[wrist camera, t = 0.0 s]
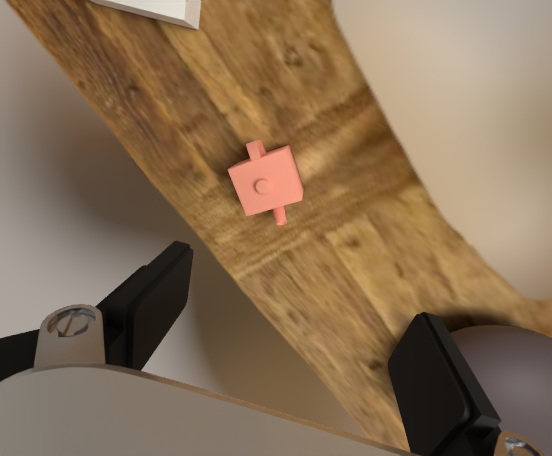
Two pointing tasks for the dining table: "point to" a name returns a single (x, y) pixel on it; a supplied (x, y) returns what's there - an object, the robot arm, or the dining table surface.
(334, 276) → the dining table surface
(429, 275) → the dining table surface
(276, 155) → the pink cube teapot
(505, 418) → the flattened ellipsoid
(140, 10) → the plate
